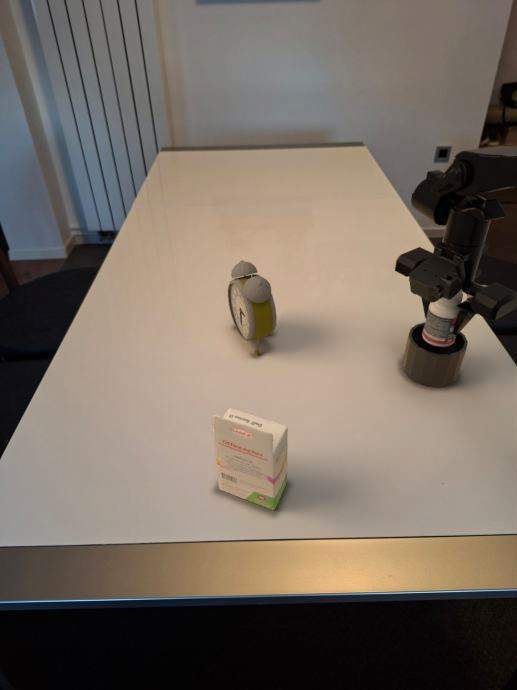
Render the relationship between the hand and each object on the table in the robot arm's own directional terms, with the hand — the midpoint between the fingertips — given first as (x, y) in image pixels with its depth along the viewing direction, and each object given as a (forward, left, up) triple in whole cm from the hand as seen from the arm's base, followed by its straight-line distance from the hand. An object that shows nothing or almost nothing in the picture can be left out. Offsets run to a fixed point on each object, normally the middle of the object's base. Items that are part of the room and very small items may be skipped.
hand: (441, 325), depth 81 cm
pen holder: (0, 0, -10) cm, 10 cm away
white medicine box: (+18, +35, -10) cm, 40 cm away
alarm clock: (+32, +4, -10) cm, 34 cm away
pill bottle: (0, 0, -3) cm, 3 cm away
